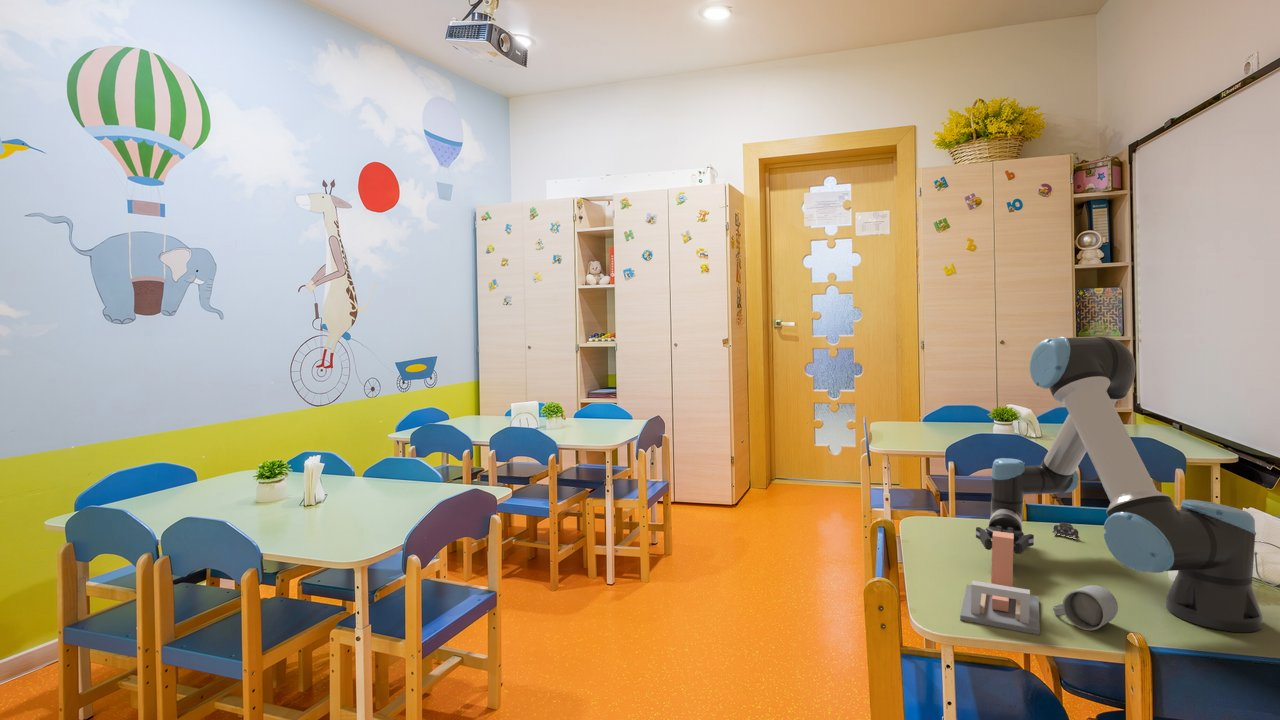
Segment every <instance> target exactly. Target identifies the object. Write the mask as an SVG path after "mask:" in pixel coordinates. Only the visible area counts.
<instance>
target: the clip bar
mask: <svg viewBox="0 0 1280 720" xmlns="http://www.w3.org/2000/svg"><path fill="white" fill-rule="evenodd" d="M991 541H992V548H991V578H990V579H991V581H990V583H991V584H997V585H1003V586H1009V587H1013V578H1014V577H1013V576H1014V573H1013V572H1014V571H1013V570H1014V552H1013V546H1014V533H1006V532H999V531H993V536H992V539H991ZM1008 608H1009V598H1006V597H1000V596H994V595H992V609H995V610H1000V611H1006V612H1008Z"/></svg>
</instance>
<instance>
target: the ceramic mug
mask: <svg viewBox="0 0 1280 720" xmlns="http://www.w3.org/2000/svg"><path fill="white" fill-rule="evenodd" d="M1052 610H1053V613H1054V615H1055V616H1065V617H1066V619H1067V620H1068V621H1069V622H1070V623H1071V624H1072V625H1073V626H1075V627H1076V628H1078V629H1081V630H1084V631H1089V632H1090V631H1096V630H1098V629H1100V628H1102V627H1103V626H1105V625H1106V624H1108V623H1109V622H1111V621H1112V620H1114V619H1115V618H1116V616H1117V614H1118V611H1119V604H1118V600H1117V598H1116V597H1115V596H1114V594H1113V593H1112V592H1111V591H1110V590H1108V589H1107V588H1105V587H1103V586H1100V585H1090V584H1089V585H1086V586H1082V587H1081V588H1077V589H1074V590H1072V591H1069V592H1068V593H1067V594H1065V597H1064V598H1063V600H1062V603H1059V604H1056V605H1054V606H1053V607H1052Z"/></svg>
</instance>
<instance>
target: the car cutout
mask: <svg viewBox="0 0 1280 720" xmlns="http://www.w3.org/2000/svg"><path fill="white" fill-rule="evenodd" d="M1052 533H1053V534H1054V535H1055V534H1060V535H1065V536H1069V537H1073V539H1074V538H1077V539H1080V536H1079V531H1078V529H1077V528H1075V527H1073V525H1072V524H1071V523H1067V522H1060V523H1059V524H1056V525H1054V526H1053V530H1052ZM1054 535H1053V536H1054ZM1073 539H1072V540H1073Z"/></svg>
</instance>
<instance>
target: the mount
mask: <svg viewBox="0 0 1280 720" xmlns="http://www.w3.org/2000/svg"><path fill="white" fill-rule="evenodd" d="M992 595H994V596H1000V597H1006V598H1009V608H1008V612H1006V611H1000V610H995V609H992ZM1039 603H1040V601H1039V596H1037V595H1031V589H1026V588H1021V587H1016V586H1015V587H1014V586H1012V587H1009V586H1003V585H997V584H991V582H984V581H977V580H972V581H971V584H966V588H965V593H964V598H963V603H962V605H961V606H962V607H961V611H960V614H959V617H960V618H959V621H963V620H965V621H964V622H968V621H970V622H969V623H974V622H975V624H980V625H986V626H990V627H996V628H1000V629H1006V630H1011V631H1017V632H1021V633H1028V634H1032V633H1033V635H1038V636H1040V633H1041V632H1040V631H1041V630H1040V627H1041V626H1040V606H1039V605H1040V604H1039Z"/></svg>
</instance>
